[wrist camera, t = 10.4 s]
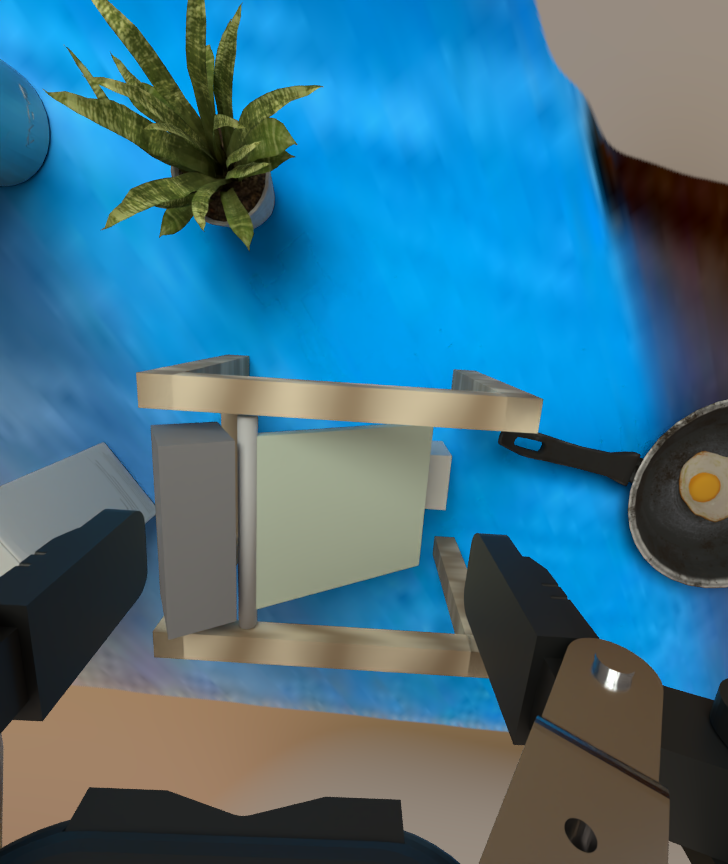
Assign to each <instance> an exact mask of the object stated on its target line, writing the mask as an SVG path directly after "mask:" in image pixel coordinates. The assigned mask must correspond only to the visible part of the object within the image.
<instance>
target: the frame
mask: <svg viewBox="0 0 728 864" xmlns="http://www.w3.org/2000/svg"><path fill="white" fill-rule="evenodd" d="M136 376H137V392H138V408H152V409H167V410H182V411H198V412H213V413H221V427H222V428H223V429H224V430H225V431H226V432H227V433H228V434H229V435H230V436H231V437H232V438H233V439H234V440H235V506H236V565H237V563H238V453H237V415H240V414H244V415H260V416H275V417H290V418H306V419H321V420H337V421H352V422H368V423H383V424H398V425H414V426H429V427H445V428H460V429H476V430H491V431H507V432H522V433H537V434H538V428H539V422H540V416H541V410H542V404H543V399H541V398H539V397H537V396H534V395H532V394H529V393H527V392H525V391H522V390H520V389H517V388H515V387H513V386H510V385H508V384H505V383H503V382H501V381H498V380H496V379H493V378H491V377H489V376H486V375H484V374H481V373H479V372H477V371H469V370H454V371H453V380H452V389H451V390H450V389H435V388H420V387H404V386H389V385H373V384H358V383H343V382H327V381H312V380H297V379H281V378H266V377H251V376H249V356H239V355H224V356H219V357H214V358H208V359H203V360H198V361H193V362H188V363H183V364H178V365H173V366H168V367H163V368H158V369H153V370H148V371H143V372H138V373H136ZM433 557H434V560H435V564H436V567H437V571H438V574H439V578H440V582H441V585H442V589H443V592H444V596H445V599H446V603H447V607H448V610H449V614H450V617H451V621H452V624H453V628H454V632H455V634H447V633H431V632H415V631H400V630H384V629H368V628H352V627H336V626H320V625H304V624H288V623H272V622H257V624H256V626H255V627H253V628H251V629H242V628H240V627H239V620H237V621H235V622H231V623H228V624H224V625H221V626H217V627H214V628H210V629H206V630H203V631H199V632H196V633H192V634H188V635H185V636H181V637H178V638H174V639H171V640H168V635H167V629H166V623H165V618H164V616H163V618H162V619H161V621H160V622H159V623H158V625H157V626H156V628H155V629H154V630H153V644H154V657H159V658H175V659H191V660H206V661H222V662H238V663H254V664H270V665H286V666H302V667H318V668H334V669H350V670H366V671H382V672H398V673H414V674H430V675H446V676H462V677H478V678H489V677H488V674H487V671H486V669H485V666H484V663H483V661H482V658H481V655H480V653H479V650H478V647H477V644H476V642H475V639H474V636H473V634H472V631H471V628H470V626H469V623H468V620H467V617H466V614H465V609H464V587H465V581H466V574H467V568H466V565H465V563H464V560H463V558H462V555H461V553H460V551H459V548H458V546H457V543H456V541H455V538H454V537H438V536H435V539H434V548H433Z"/></svg>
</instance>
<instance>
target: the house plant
mask: <svg viewBox="0 0 728 864" xmlns="http://www.w3.org/2000/svg"><path fill="white" fill-rule="evenodd" d="M92 2H93V3H94V5H95V6H96V7H97V9H98V10H99V12H100V13H101V15H102V16H103V17H104V19H105V20H106V22H107V23H108V24H109V26H110V27H111V28H112V30H113V31H114V32H115V33H116V35H117V36H118V37H119V39H120V40H121V41H122V42H123V44H124V45H125V46H126V48H127V49H128V50H129V52H130V53H131V54H132V56H133V57H134V58H135V59H136V61H137V62H138V64H139V65H140V67H141V68H142V70H143V71H144V73H145V74H146V76H147V77H148V79H149V80H150V82H151V83H152V85H153V86H154V87H153V86H151V85H149V84H146V83H141V82H140V81H139V80H138V79H137V78H136V77H135V76H134V75H132V74H131V73H130V72H129V71H128V69H127V68H126V67H125V66H124V64H123V63H122V62H121V61H120V60H119V59H117V58H116V57H114V56H113V55H112V54H111V56H112V58H113V60H114V62H115V64H116V66H117V68H118V70H119V71H120V73H121V75H122V76H123V78H124V80H125V81H126V83H123V82H120V81H117V80H113V79H109V78H105V77H93V76H92V75H91V73H90V72H89V71H88V69H87V68H86V67H85V66H84V65H83V64H82V63H81V61H80V60H79V59H78V58H77V57H76V56H75V55H74V54H73V52H72V51H71V50H70V49H68V48H67V47H66V46H65V45H64V46H65V47H66V48H67V49H68V50H69V52H70V54H71V55H72V57H73V59H74V61H75V62H76V64H77V66H78V67H79V69H80V70H81V72H82V73H83V75H84V77H85V78H86V79H87V81H88V83H89V84H90V86H91V88H92V89H93V91H94V93H95V94H96V96H97V98H98V99H91V98H85V97H83V96H80V95H77V94H73V93H69V92H66V91H63V92H47V91H45V90H44V89H43V90H44V91H45V92H46V93H47V94H48V95H50V96H51V97H52V98H54V99H55V100H57V101H59V102H60V103H62V104H64V105H66V106H67V107H69V108H70V109H72V110H73V111H75V112H76V113H78V114H80V115H82V116H84V117H86V118H88V119H90V120H92V121H94V122H95V123H97V124H99V125H101V126H103V127H105V128H107V129H109V130H111V131H113V132H115V133H117V134H118V135H120V136H122V137H124V138H126V139H128V140H130V141H131V142H133V143H134V144H136V145H137V146H139V147H140V148H141V149H143V150H144V151H145V152H147V153H148V154H149V155H151V156H152V157H154V158H156V159H158V160H160V161H162V162H164V163H165V164H168V165H171V175H172V177H170V178H163V179H158V180H153V181H150V182H147V183H144V184H141V185H139V186H137V187H134V188H132V189H131V190H130V191H129V192H128V194H127V195H126V196H125V198H124V200H123V201H122V203H121V204H119V205H118V206H117V207H116V208H115V209H114V210H113V211H112V212H111V213H110V214H109V217H108V220H107V223H106V226H105V228H103V229H107V228H109V227H111V226H113V225H115V224H117V223H118V222H120V221H122V220H125V219H127V218H129V217H131V216H133V215H134V214H136V213H138V212H141V211H143V210H146V209H148V208H150V207H153V206H155V207H160V208H166V209H167V210H166V211H165V213H164V216H163V219H162V224H161V231H160V236H159V238H160V237H161V236H162V235H170V234H175V233H176V232H178V231H180V230H181V229H182V228H183V227H185V225H186V224H187V223H188V222H189V221H190V219H191V218H192V217H193V215H194V218H195V220H196V222H197V223H198V224H199V226H200V228H201V229H202V230H203V231H204V227H205V224H206V223H205V222H208V223H210V224H214V225H219V226H225V227H230V228H231V229H232V230H233V232H234V233H235V234H236V235H237V236H238V237H239V238H240V239H241V240H242V242H243V243H244V244H245V245H246V246H247V248H248V250H249V252H250V243H251V240H252V237H253V235H254V232H253V229H255V228H257V227H258V226H260V225H261V224H262V223H264V222H265V221H266V220H267V219H268V218H269V216H270V215H271V214H272V211H273V208H274V202H275V195H274V189H273V183H272V178H271V173H270V171H272V170H274V169H275V168H277V167H278V166H279V165H280V164H282V163H283V162H284V161H286V160H288V159H289V158H292V157H295V156H292V155H290V154H289V153H287V152H286V151H285V150H286V149H287V148H288V147H289V146H291V145H293V144H296V145H297V143H296V142H295V141H294V139H293V138H292V136H291V135H290V133H289V132H288V130H287V129H286V127H285V126H284V124H283V123H281V122H280V121H278V120H277V119H275V118H269V117H270V116H272V115H273V114H275V113H276V112H277V111H278V110H279V109H281V108H282V107H283V106H285V105H286V104H287V103H289V102H290V101H292V100H295V99H298V98H301V97H304V96H307V95H309V94H311V93H312V92H313V91H315V90H316V89H318V88H319V87H323V86H317V85H310V86H292V87H286V88H281V89H277V90H274V91H271V92H269V93H266V94H264V95H263V96H261V97H259V98H257V99H255V100H254V101H252V102H251V103H249V104H248V105H247V106H246V107H245V108H244V109H243V111H242V114H241V116H240V119H239V121H237V120H235V119H233V111H232V81H233V71H234V63H235V57H236V40H237V29H238V25H239V21H240V17H241V5H242V4H241V5H240V6H239V8H238V10H237V12H236V14H235V15H234V17H233V19H231V20H232V22H231V20H230V22H229V23H228V25H227V27H226V29H225V31H224V33H223V35H222V38H221V41H220V43H219V46H218V50H217V55H216V60H215V68H214V56H213V52H212V50H211V47H210V45H207V46H206V14H205V2H204V0H188V4H187V14H186V59H187V69H188V72H189V76H190V79H191V82H192V86H193V89H194V94H195V98H196V102H197V106H198V110H199V114H200V117H199V116H198V114H197V113H196V111H195V110H194V109H193V107H192V106H191V105H190V103H189V102H188V101H187V100H186V98H185V97H184V95H183V93H182V92H181V90H180V89H179V87H178V85H177V84H176V82H175V81H174V79H173V78H172V76H171V75H170V73H169V72H168V70H167V69H166V67H165V65H164V64H163V63H162V61H161V60H160V58H159V57H158V55H157V54H156V52H155V51H154V49H153V48H152V47H151V45H150V44H149V43H148V41H147V40H146V39H145V38H144V36H143V35H142V34H141V32H140V31H139V30H138V28H137V27H136V26H135V25H134V24H133V23H132V22H130V21H129V20H128V19H127V18H126V17H125V16H124V15H123V14H122V13H121V12H120V11H119V10H117V9H116V8H115V7H114V6H113V5H112V4H111V3H110V2H109V1H108V0H92ZM110 53H111V52H110ZM83 75H82V76H83ZM98 84H99V85H101V86H104V87H106V88H108V89H110V90H112V91H114V92H117V93H119V94H122V95H124V96H127V97H129V99H130V100H131V102H132V103H133V105H134V106H135V107H136V108H137V109H138V110H139V111H140V112H142V113H143V114H144V115H146V116H147V117H149V118H150V119H152V120H154V121H155V122H156V123H152V122H151V121H149V120H148V119H146V118H144V117H142V116H141V115H139V114H137V113H135V112H134V111H132V110H130V109H129V108H128V107H126V106H125V105H122V104H119V103H117V102H115V101H113V100H109V99H108V97H107V96H106V95H105V93H104V92H103V90H102V89H101V87H100V86H99V85H98ZM213 91H214V92H213ZM214 96H215V100H216V104H217V111H218V114H217V115H216V114H215V105H214ZM167 131H168V132H169V133H168V132H167ZM103 229H101V230H103Z"/></svg>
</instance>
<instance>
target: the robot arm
mask: <svg viewBox="0 0 728 864" xmlns="http://www.w3.org/2000/svg"><path fill="white" fill-rule="evenodd" d="M48 145H49V124H48V119H47V114H46V112H45V109H44V106H43V104H42V101H41V99H40V98H39V96H38V94H37V93H36V91H35V89H34V88H33V87H32V86H31V84H30V83H29V82H28V81H27V80H26V78H24V77H23V76H22V75H21V74H20V73H18V72H17V71H16V70H15V69H13V68H12V67H11V66H9V65H8V64H7V63H5V62H4V61H2V60H1V59H0V186H11V185H17V184H19V183H22V182H24V181H26V180H28V179H29V178H30V177H32V176H33V175H34V174H35V173H36V172H37V171H38V169H39V168H40V167H41V165H42V164H43V161H44V159H45V157H46V154H47V150H48ZM146 578H147V553H146V535H145V520H144V516H143V514H142V512H141V511H136V510H120V509H104V510H102V511H101V512H100V513H98V514H97V515H96V516H94V517H93V518H92V519H91V520H89V521H88V522H87V523H85V524H84V525H83V526H81V527H80V528H76V529H74V530H72V531H69V532H67V533H65V534H62V535H60V536H58V537H55V538H53V539H52V540H50V541H49V542H48V543H46V544H45V545H43V546H42V547H41V548H39V549H38V550H37V551H35V554H31V555H30V556H28V557H27V558H26V559H24V560H23V561H21V562H20V563H19V566H15V567H13V568H12V569H10V570H9V571H8V572H6V573H5V574H4V575H2V576H1V577H0V864H460V863H459V862H458V861H456V860H455V859H454V858H453V857H452V856H450V855H449V854H448V853H446V852H444V851H443V850H442V849H440V848H439V847H437V846H436V845H434V844H432V843H430V842H429V841H427V840H424V839H423V838H421V837H419V836H417V835H415V834H412V833H409V832H406V831H404V830H403V821H402V810H401V800H392V799H366V798H342V797H341V798H340V797H323V798H319V799H315V800H311V801H307V802H303V803H299V804H294V805H291V806H287V807H283V808H278V809H274V810H270V811H266V812H262V813H258V814H254V815H249V816H237V815H233V814H231V813H228V812H225V811H222V810H220V809H217V808H214V807H211V806H209V805H206V804H203V803H200V802H197V801H195V800H192V799H189V798H186V797H183V796H181V795H178V794H175V793H173V792H169V791H165V790H142V789H116V788H91V787H90V788H89V789H88V790H87V792H86V794H85V796H84V797H83V799H82V801H81V803H80V805H79V806H78V808H77V810H76V811H75V813H74V815H73V817H72V818H71V820H68V821H64V822H61V823H58V824H55V825H52V826H49V827H46V828H43V829H40V830H38V831H36V832H33V833H31V834H29V835H27V836H24V837H22V838H20V839H18V840H16V841H14V842H12V843H10V844H8V845H6V846H4V847H3V848H2V802H3V798H2V797H3V741H2V735H1V732H2V731H3V730H4V729H5V728H6V727H7V725H8V724H9V723H10V722H11V721H12V720H28V721H43V720H44V719H45V717H46V716H47V715H48V713H49V712H50V711H51V710H52V708H53V707H54V706H55V705H56V703H57V702H58V701H59V699H60V698H61V697H62V695H63V694H64V693H65V692H66V690H67V689H68V688H69V687H70V685H71V684H72V683H73V681H74V680H75V679H76V678H77V676H78V675H79V674H80V672H81V671H82V670H83V669H84V667H85V666H86V665H87V663H88V662H89V661H90V660H91V658H92V657H93V656H94V654H95V653H96V652H97V651H98V649H99V648H100V647H101V645H102V644H103V643H104V642H105V640H106V639H107V638H108V636H109V635H110V634H111V633H112V631H113V630H114V629H115V627H116V626H117V625H118V624H119V622H120V621H121V620H122V618H123V617H124V616H125V615H126V613H127V612H128V611H129V609H130V608H131V607H132V606H133V604H134V603H135V602H136V600H137V599H138V598H139V596H140V595H141V593H142V591H143V589H144V586H145V582H146ZM464 609H465V614H466V617H467V620H468V623H469V626H470V628H471V631H472V634H473V636H474V639H475V642H476V644H477V647H478V650H479V653H480V655H481V658H482V661H483V663H484V666H485V669H486V671H487V674H488V677H489V680H490V682H491V685H492V688H493V690H494V693H495V696H496V698H497V701H498V704H499V707H500V709H501V712H502V715H503V717H504V720H505V723H506V725H507V728H508V731H509V734H510V736H511V739H512V741H513V744H514V745H525V747H524V749H523V752H522V754H521V757H520V759H519V762H518V764H517V767H516V770H515V772H514V775H513V777H512V780H511V782H510V785H509V788H508V790H507V793H506V795H505V798H504V800H503V803H502V805H501V808H500V810H499V814H498V816H497V818H496V821H495V823H494V826H493V828H492V831H491V833H490V836H489V838H488V841H487V844H486V846H485V849H484V851H483V854H482V857H481V859H480V862H479V864H668V846H669V844H668V843H669V841H671V842H673V843H676V844H679V845H681V846H682V848H683V849H684V851H685V853H686V855H687V856H688V858H689V860H690V862H691V864H728V679H725V680H723V681H722V682H721V683H720V686H719V689H718V691H717V694H716V697H715V700H711V699H708V698H704V697H701V696H697V695H694V694H690V693H687V692H683V691H680V690H676V689H673V688H669V687H666V686H663V685H662V682H661V680H660V678H659V677H658V675H657V674H656V672H655V671H654V670H653V669H652V668H651V667H650V666H649V665H648V664H647V663H646V662H645V661H644V660H642V659H641V658H640V657H638V656H637V655H636V654H634V653H633V652H631V651H629V650H627V649H626V648H624V647H621V646H619V645H617V644H614V643H612V642H609V641H606V640H602V639H599V637H598V636H597V635H596V633H595V632H594V631H593V629H592V628H591V627H590V625H589V624H588V623H587V622H586V620H585V619H584V618H583V616H582V615H581V614H580V612H579V611H578V610H577V608H576V607H575V606H574V604H573V603H572V602H571V601H570V600H568V599H567V595H566V594H565V593H564V591H563V590H562V589H561V587H558V583H557V582H556V581H555V580H554V578H553V577H552V576H551V574H550V573H549V572H548V570H547V569H545V568H544V567H543V566H541V565H540V564H538V563H537V562H536V561H534V560H533V559H531V558H530V557H522V555H521V554H520V552H519V551H518V550H517V548H516V547H515V545H514V544H513V542H512V541H511V540H510V538H509V537H508V536H507V535H496V534H480V533H476V534H475V535H474V537H473V539H472V543H471V549H470V556H469V562H468V568H467V574H466V581H465V587H464Z"/></svg>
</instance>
